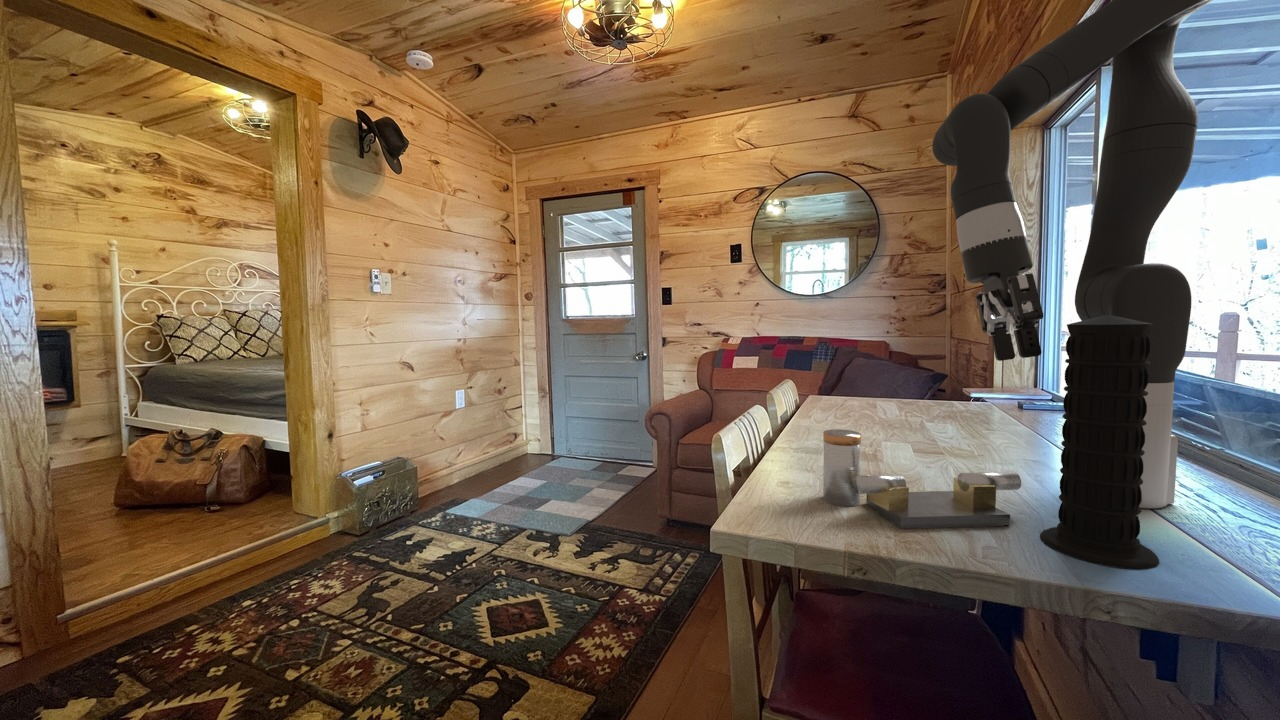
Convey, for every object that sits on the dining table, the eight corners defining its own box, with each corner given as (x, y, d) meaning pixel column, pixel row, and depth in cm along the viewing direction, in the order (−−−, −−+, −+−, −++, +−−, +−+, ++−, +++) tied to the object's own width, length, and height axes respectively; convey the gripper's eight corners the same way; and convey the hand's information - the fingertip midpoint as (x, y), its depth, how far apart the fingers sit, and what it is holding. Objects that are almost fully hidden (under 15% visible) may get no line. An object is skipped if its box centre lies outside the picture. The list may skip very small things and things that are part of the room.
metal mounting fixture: (989, 500, 72) (990, 462, 72) (1040, 525, 63) (1042, 482, 63) (842, 503, 72) (842, 466, 71) (873, 529, 63) (873, 486, 62)
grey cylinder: (850, 493, 76) (851, 429, 75) (866, 506, 71) (867, 436, 70) (817, 494, 76) (818, 429, 75) (831, 507, 71) (831, 437, 70)
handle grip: (1188, 571, 51) (1107, 530, 61) (1205, 313, 49) (1119, 314, 59) (1083, 567, 52) (1020, 528, 62) (1095, 314, 50) (1028, 316, 60)
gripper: (1047, 220, 61) (1077, 350, 60) (1004, 250, 75) (1028, 356, 73) (977, 236, 64) (1004, 361, 62) (948, 261, 77) (970, 365, 75)
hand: (1017, 358), depth 68 cm, fingers open, 8 cm apart
